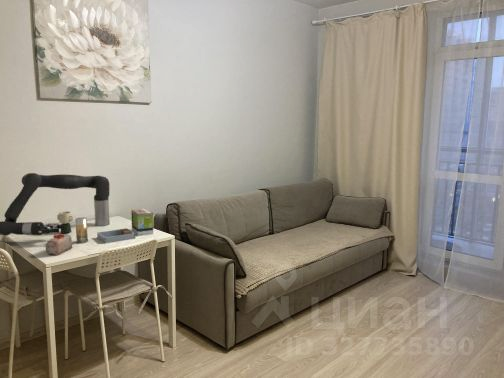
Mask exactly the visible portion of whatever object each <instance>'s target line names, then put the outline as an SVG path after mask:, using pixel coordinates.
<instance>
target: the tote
mask: <svg viewBox="0 0 504 378" xmlns="http://www.w3.org/2000/svg"><path fill="white" fill-rule="evenodd" d="M122 229H123V228H120V229H113V230H107V231H100V232H99V231H98V232H97V239H98V240H99V241H101V242H102V243H103V244H111V243H117V242H123V241H129V240H135V239H136V234H135V233H134V232H133V231H132V230H130V231H131V234H125V235H121V230H122ZM124 229H128V228H126V227H125V228H124Z"/></svg>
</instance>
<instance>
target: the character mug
mask: <svg viewBox="0 0 504 378" xmlns="http://www.w3.org/2000/svg"><path fill="white" fill-rule="evenodd" d="M56 216H57V217H56V219H57V221H59V222H58V224H59V223H60V225H65V228H64V229H60V234H69V233H70V232H72V227H71V222H73V221H74V216H73V215H72V212H71V211H69V210H67V211H66V210H65V211H59V213H58V214H57V215H56Z"/></svg>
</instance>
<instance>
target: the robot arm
mask: <svg viewBox="0 0 504 378" xmlns="http://www.w3.org/2000/svg"><path fill="white" fill-rule="evenodd" d="M21 184H22V185H23V186H22V188H21V190H20V192H19V193H18V195H17V196H16V197H15V198H14V199H13V201H12V202H11V203H10V204H9V205H8V207H7V209H6V211H5V213H4V221H2V220H1V221H0V236H1V235H2V236H4V237H6V236H9V235H11V234H13V235H17V236H19V235H20V236H21V235H22V236H23V235H24V236H41V235H49V234H52V233H54V234H56V233H57V234H58V233H60V230H61V229H64V228H65V225H61V224H59V222H58V223H47V224H44V223H43V222H42V221H27V222H25V221H24V222H21V221H20V222H17V221H18V218H19V217H20V215H21V213H22V212H23V210H24V208H25V206H26V205H27V203H28V202H29V199H30V198H31V197H32V196H33V194H34V193H35V192H36V191H37V190H38V188H52V189H59V190H77V189H81V188H82V189H83V188H89V189H90V188H91V189H95V195H94V196H93V205H94V223H95V226H96V227H104V226H105V227H106V226H108V225H110V204H109V203H110V201H109V197H110V181H109V179H108V177H106V176H103V175H91V176H90V175H88V176H86V175H85V176H84V175H77V174H65V173H64V174H51V175H49V174H48V175H47V174H46V175H44V174H38V173H35V172H28V173H26V174H24V175H23V176H22V178H21Z"/></svg>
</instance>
